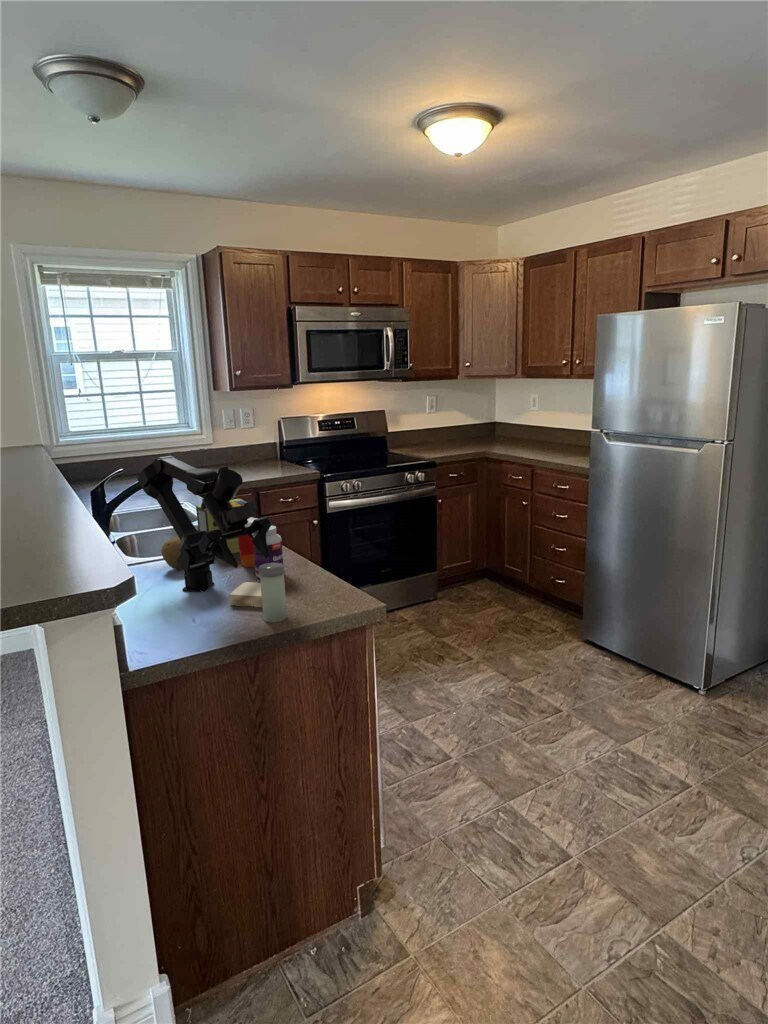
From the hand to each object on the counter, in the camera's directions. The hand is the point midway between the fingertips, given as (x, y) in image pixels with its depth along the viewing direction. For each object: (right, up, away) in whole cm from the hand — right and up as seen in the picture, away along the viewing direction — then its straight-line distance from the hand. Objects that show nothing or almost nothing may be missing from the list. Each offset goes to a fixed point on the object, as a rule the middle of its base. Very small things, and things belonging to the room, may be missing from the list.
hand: (252, 562), depth 153 cm
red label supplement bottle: (-9, -4, +38) cm, 40 cm away
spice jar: (+6, -13, -2) cm, 15 cm away
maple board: (-2, -11, +10) cm, 15 cm away
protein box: (-19, -1, +54) cm, 57 cm away
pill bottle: (-1, -6, +28) cm, 29 cm away
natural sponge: (-30, -5, +36) cm, 47 cm away
